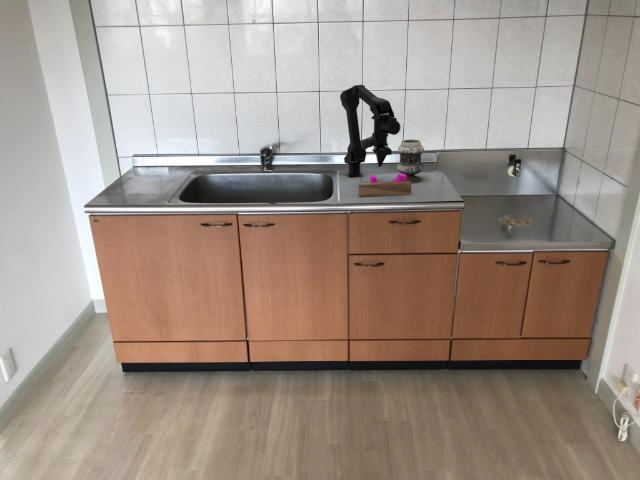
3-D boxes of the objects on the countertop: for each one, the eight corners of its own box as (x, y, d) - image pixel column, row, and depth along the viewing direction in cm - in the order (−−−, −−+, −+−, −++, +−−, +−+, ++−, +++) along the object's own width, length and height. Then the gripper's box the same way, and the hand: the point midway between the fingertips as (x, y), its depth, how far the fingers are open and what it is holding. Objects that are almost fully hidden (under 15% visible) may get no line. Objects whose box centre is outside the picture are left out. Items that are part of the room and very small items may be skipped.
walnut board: (358, 194, 216) (358, 183, 214) (409, 192, 218) (409, 181, 216) (359, 197, 213) (359, 185, 211) (410, 194, 215) (411, 183, 213)
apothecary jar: (412, 174, 242) (414, 136, 235) (428, 180, 232) (430, 141, 225) (391, 178, 238) (392, 139, 230) (405, 184, 228) (407, 144, 220)
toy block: (402, 188, 223) (402, 172, 220) (405, 192, 218) (406, 175, 215) (368, 190, 222) (368, 173, 219) (371, 194, 217) (371, 177, 214)
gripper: (358, 127, 224) (358, 162, 230) (365, 136, 207) (365, 173, 213) (383, 126, 225) (382, 160, 231) (392, 135, 208) (391, 171, 214)
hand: (379, 166), depth 223 cm, fingers closed
